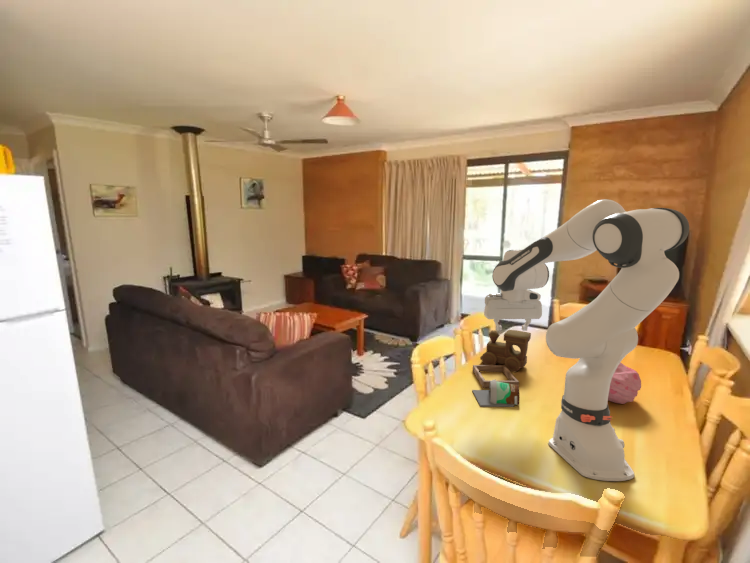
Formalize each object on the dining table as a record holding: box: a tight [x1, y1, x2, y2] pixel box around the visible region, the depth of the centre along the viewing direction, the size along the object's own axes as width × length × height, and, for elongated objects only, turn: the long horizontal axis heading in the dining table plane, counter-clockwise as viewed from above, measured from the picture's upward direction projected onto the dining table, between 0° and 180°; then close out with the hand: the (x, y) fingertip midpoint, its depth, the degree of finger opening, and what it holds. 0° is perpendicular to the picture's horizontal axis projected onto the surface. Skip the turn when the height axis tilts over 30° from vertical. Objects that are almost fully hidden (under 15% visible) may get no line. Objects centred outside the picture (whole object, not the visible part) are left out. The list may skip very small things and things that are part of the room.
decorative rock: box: [608, 362, 642, 405], centre depth 133 cm, size 19×14×15 cm
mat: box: [471, 389, 515, 408], centre depth 136 cm, size 12×12×1 cm
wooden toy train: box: [479, 329, 532, 373], centre depth 166 cm, size 20×11×17 cm, turn 56°
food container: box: [488, 379, 520, 406], centre depth 136 cm, size 12×6×10 cm
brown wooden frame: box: [472, 364, 520, 390], centre depth 153 cm, size 17×14×3 cm
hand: (511, 330), depth 134 cm, fingers open, 8 cm apart
